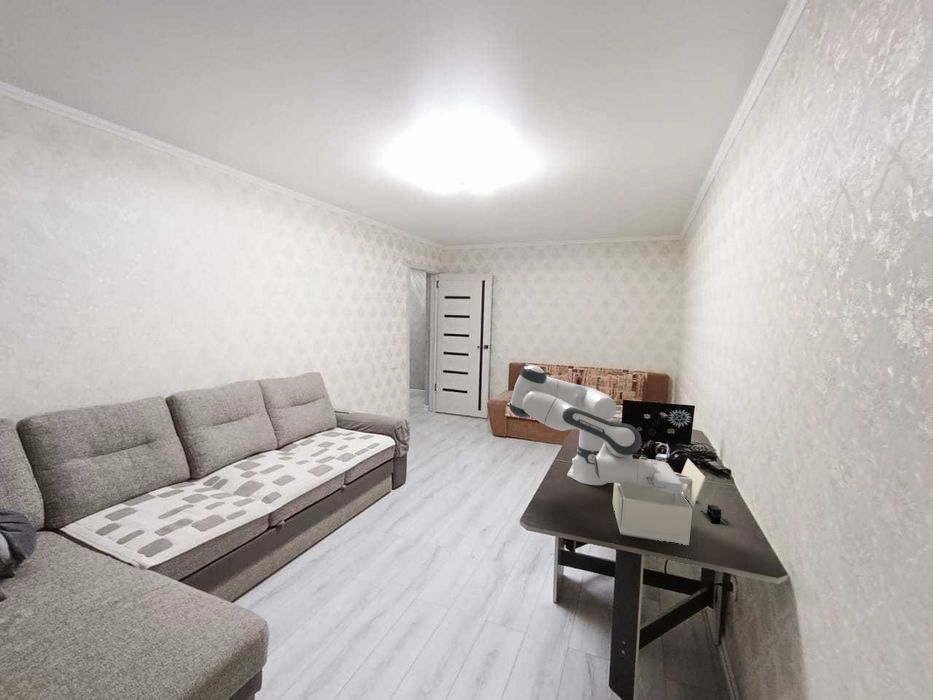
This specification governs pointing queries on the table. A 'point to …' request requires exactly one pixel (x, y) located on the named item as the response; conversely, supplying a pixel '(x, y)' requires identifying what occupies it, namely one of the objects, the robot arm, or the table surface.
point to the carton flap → (692, 482)
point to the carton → (652, 513)
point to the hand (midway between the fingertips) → (690, 480)
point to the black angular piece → (714, 515)
